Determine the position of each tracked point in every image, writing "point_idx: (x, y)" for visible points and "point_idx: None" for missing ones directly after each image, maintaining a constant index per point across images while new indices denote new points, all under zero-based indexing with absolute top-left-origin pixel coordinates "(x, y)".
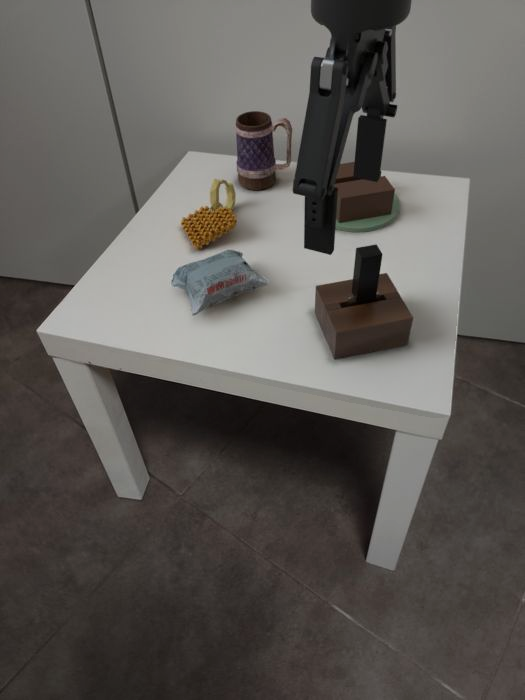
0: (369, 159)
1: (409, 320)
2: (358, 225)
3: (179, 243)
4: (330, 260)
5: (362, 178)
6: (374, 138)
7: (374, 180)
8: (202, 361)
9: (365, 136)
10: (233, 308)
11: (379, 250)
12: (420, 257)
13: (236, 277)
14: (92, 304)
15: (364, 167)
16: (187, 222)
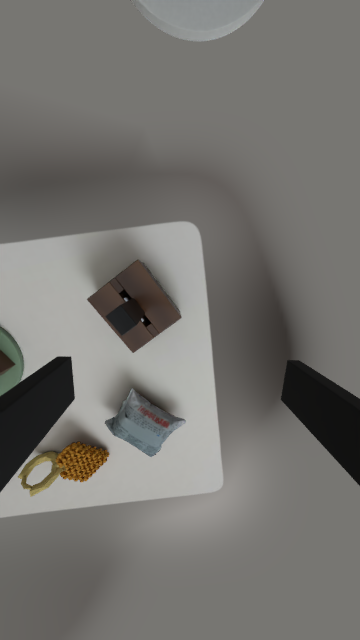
0: (47, 399)
1: (140, 262)
2: (9, 346)
3: (106, 465)
4: (69, 352)
5: (72, 383)
6: (3, 434)
7: (70, 362)
8: (214, 393)
9: (6, 458)
10: (158, 398)
11: (115, 310)
12: (24, 278)
13: (144, 414)
14: (192, 480)
15: (59, 395)
16: (85, 476)
